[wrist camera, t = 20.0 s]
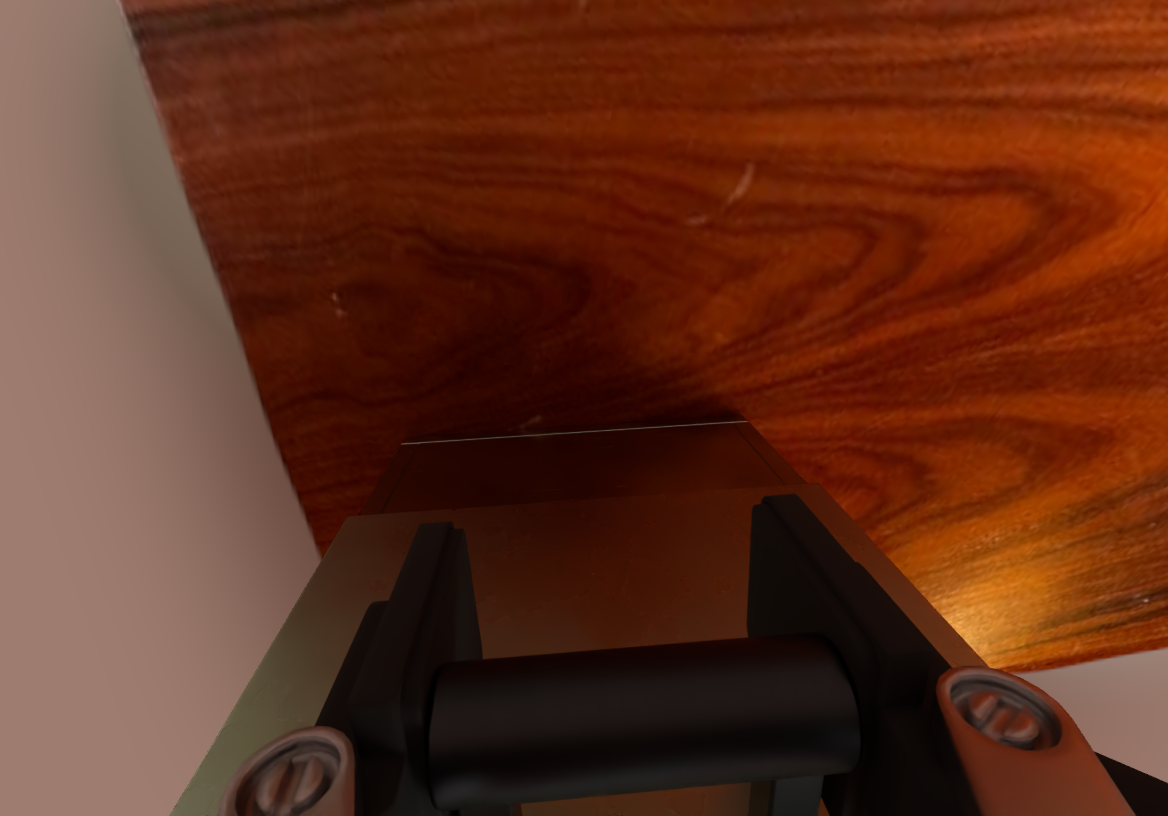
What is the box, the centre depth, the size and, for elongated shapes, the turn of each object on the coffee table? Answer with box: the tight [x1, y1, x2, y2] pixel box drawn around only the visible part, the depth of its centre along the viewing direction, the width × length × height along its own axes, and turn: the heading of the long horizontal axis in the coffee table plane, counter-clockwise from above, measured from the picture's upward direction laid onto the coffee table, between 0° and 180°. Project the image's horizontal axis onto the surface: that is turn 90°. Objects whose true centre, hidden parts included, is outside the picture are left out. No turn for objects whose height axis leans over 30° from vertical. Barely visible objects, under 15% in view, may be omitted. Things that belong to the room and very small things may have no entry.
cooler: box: [358, 416, 808, 516], centre depth 25 cm, size 13×16×7 cm
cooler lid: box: [170, 483, 989, 816], centre depth 12 cm, size 14×16×5 cm
